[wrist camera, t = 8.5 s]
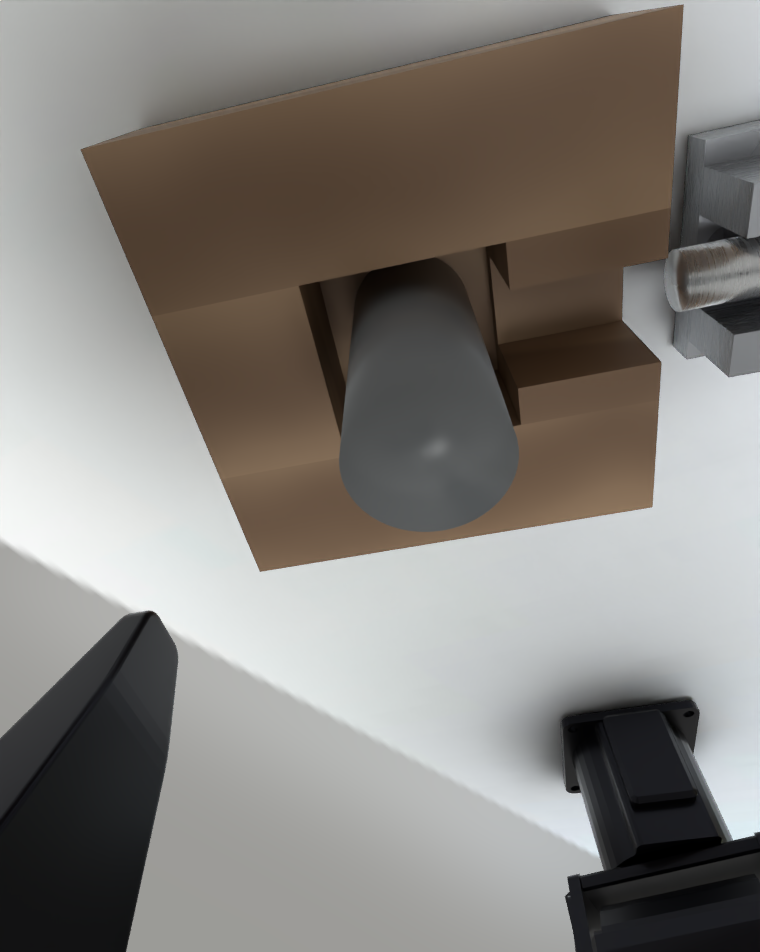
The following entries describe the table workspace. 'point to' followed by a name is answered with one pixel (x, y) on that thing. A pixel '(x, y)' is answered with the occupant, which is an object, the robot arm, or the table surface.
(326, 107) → the dock
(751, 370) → the pin mount
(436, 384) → the peg
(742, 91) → the table surface
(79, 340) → the table surface
